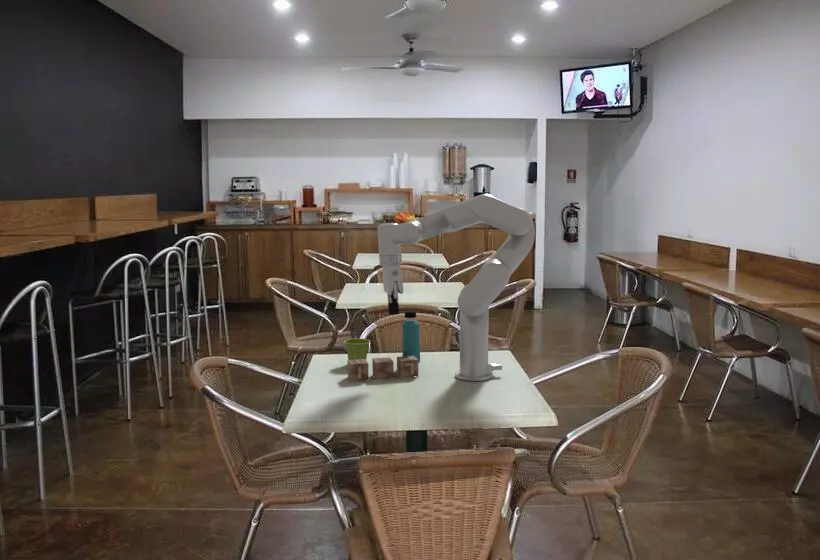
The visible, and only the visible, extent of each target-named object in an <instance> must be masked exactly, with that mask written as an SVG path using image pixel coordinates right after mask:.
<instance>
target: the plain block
mask: <svg viewBox="0 0 820 560" xmlns="http://www.w3.org/2000/svg"><path fill="white" fill-rule="evenodd" d="M371 361H372V362H371V363H372V365H371V366H372V376H374V377H375V378H374V377H373V378H374V379H375V380H376V381H378V380H377V379H383V380H392V379H391V378H394V377H395V376H394V362H395V361H394V360H393V359H392V358H391V357H389V356H387V357H376V358H372V359H371Z"/></svg>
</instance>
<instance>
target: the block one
mask: <svg viewBox="0 0 820 560" xmlns="http://www.w3.org/2000/svg"><path fill="white" fill-rule="evenodd" d="M369 374H370V373H369V362H368V361H367V359H366V360H365V359H357V360H348V359H347V378H348V380H349V381H350V383H355V382H366V380H369V378H370V377H369ZM369 381H370V380H369Z"/></svg>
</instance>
